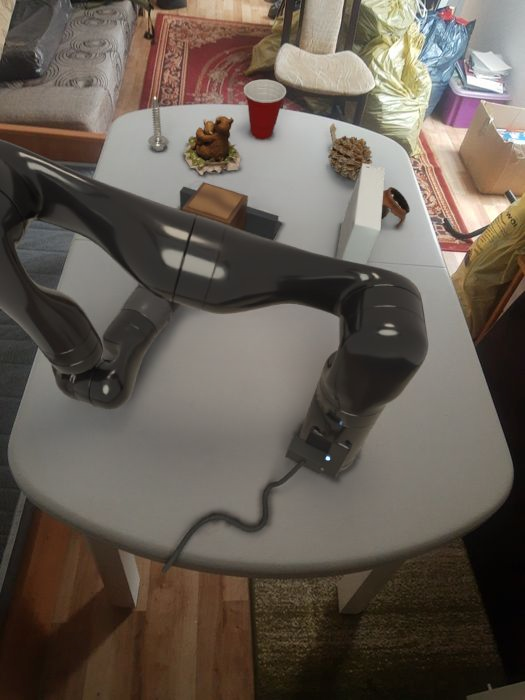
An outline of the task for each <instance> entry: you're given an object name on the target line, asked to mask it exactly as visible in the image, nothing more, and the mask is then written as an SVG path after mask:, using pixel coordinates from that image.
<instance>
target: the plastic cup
mask: <svg viewBox="0 0 525 700" xmlns="http://www.w3.org/2000/svg"><path fill="white" fill-rule="evenodd" d="M243 93H244V95H245V97H246V102H247V109H248V119H249V127H250V128H249V129H250V130H249V131H250V134H251V136H252V137H253V138H255V139H259V140H268V139H270V138H271V137H272V135H273V133H274V129H275V126H276V124H277V120H278V117H279V114H280V110H281V106H282V103H283V100H284V97H286V94H287V89H286V87H285V86H284V85H283V84H282V83H280V82H278V81H276V80H272V79H256V80H251V81H250V82H247V83H246V84H245V86H244V87H243Z"/></svg>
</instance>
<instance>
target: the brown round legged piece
mask: <svg viewBox="0 0 525 700" xmlns="http://www.w3.org/2000/svg"><path fill="white" fill-rule="evenodd" d="M389 212H390V213H391V214H392V215H394V216H395V217H398V218H399V219H400V221H399V222H398V223H397V225H396V228H400V226H402V224H403V223H404V222H405V219H406V216H407V215H408V214H409V213H410V212H411V210H410V205H409V203H408V201H407V199H406V198H405V196H404V195H403V194H402V193H401V192H400V191H399V190H398V189H397V188H395V187H392V186H390V187H388V188H387V189H384V190H383V202H382V216H381V221H382V220H384V218H386V217H387V216H388V214H389Z"/></svg>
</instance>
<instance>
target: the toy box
mask: <svg viewBox="0 0 525 700" xmlns="http://www.w3.org/2000/svg"><path fill="white" fill-rule="evenodd" d="M195 190H196V192H195V193H194V194H193V195H192V197H191V198H190V199H189V200H188V202H187V203H186V204H185V205H184V207H183V208H182V210H183V211H187V212H190V213H194V214H196V217H197V215H200V216H203V217H206V218H209V219H212V220H215V221H218V222H221V223H224V224H225V225H226V224H227V225H229V226H232V227H235V228H237V229H240V230H242V231H245V224H246V213H247V206H248V200H249V195H246V194H243V193H241V192H237V191H234V190H230V189H228V188H224V187H221V186H218V185H214V184H211V183H208V182H205V181H203V182H202V183H201V184H200V185H199V187H198V188H197V189H195ZM245 232H246V231H245Z"/></svg>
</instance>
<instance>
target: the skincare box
mask: <svg viewBox="0 0 525 700" xmlns="http://www.w3.org/2000/svg"><path fill="white" fill-rule="evenodd" d="M385 174H386V168H385V167H380V166H377V165H372V164H365V163H362V166H361V169H360V172H359V175H358V178H357V180H355V181H356V182H355V184H354V188H353V190H352V193H351V195H350V198H349V201H348V205H347V207H346V210H345V213H344V217H343V220H342V221H341V225H340V232H339V238H338V244H337V250H336V256H335V258H337V259H342V260H347V261H351V262H356V263H360V264H365V265H367V263H368V261H369V258H370V255H371V253H372V251H373V248H374V246H375V244H376V241H377V239H378V236H379V234H380V232H381V229H382V228H381V227H382V220H381V216H382V202H383V191H384V190H385V189H384V188H385V187H384V186H385Z"/></svg>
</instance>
